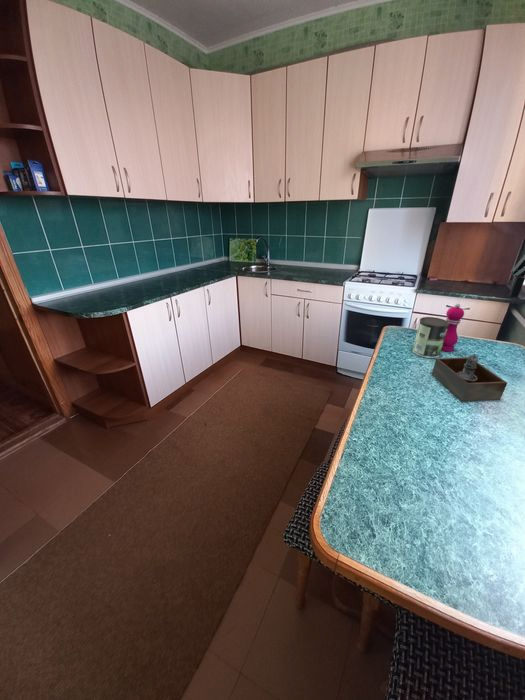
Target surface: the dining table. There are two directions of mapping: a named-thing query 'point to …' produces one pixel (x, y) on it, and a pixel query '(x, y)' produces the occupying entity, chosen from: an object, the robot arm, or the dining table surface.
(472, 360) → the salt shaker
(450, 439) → the dining table surface
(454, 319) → the pepper mill
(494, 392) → the holder
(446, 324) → the coffee can
